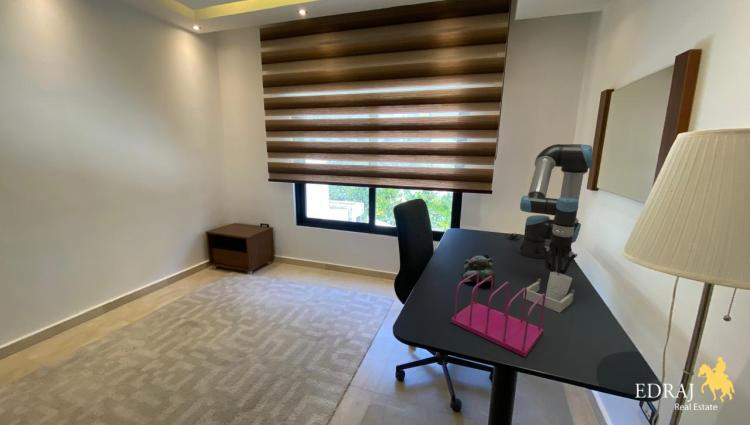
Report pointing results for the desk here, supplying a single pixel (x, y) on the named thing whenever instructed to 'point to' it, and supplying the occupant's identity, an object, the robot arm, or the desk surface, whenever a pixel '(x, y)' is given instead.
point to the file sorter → (499, 321)
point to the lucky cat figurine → (479, 268)
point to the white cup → (558, 286)
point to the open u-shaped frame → (549, 302)
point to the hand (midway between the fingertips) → (553, 286)
